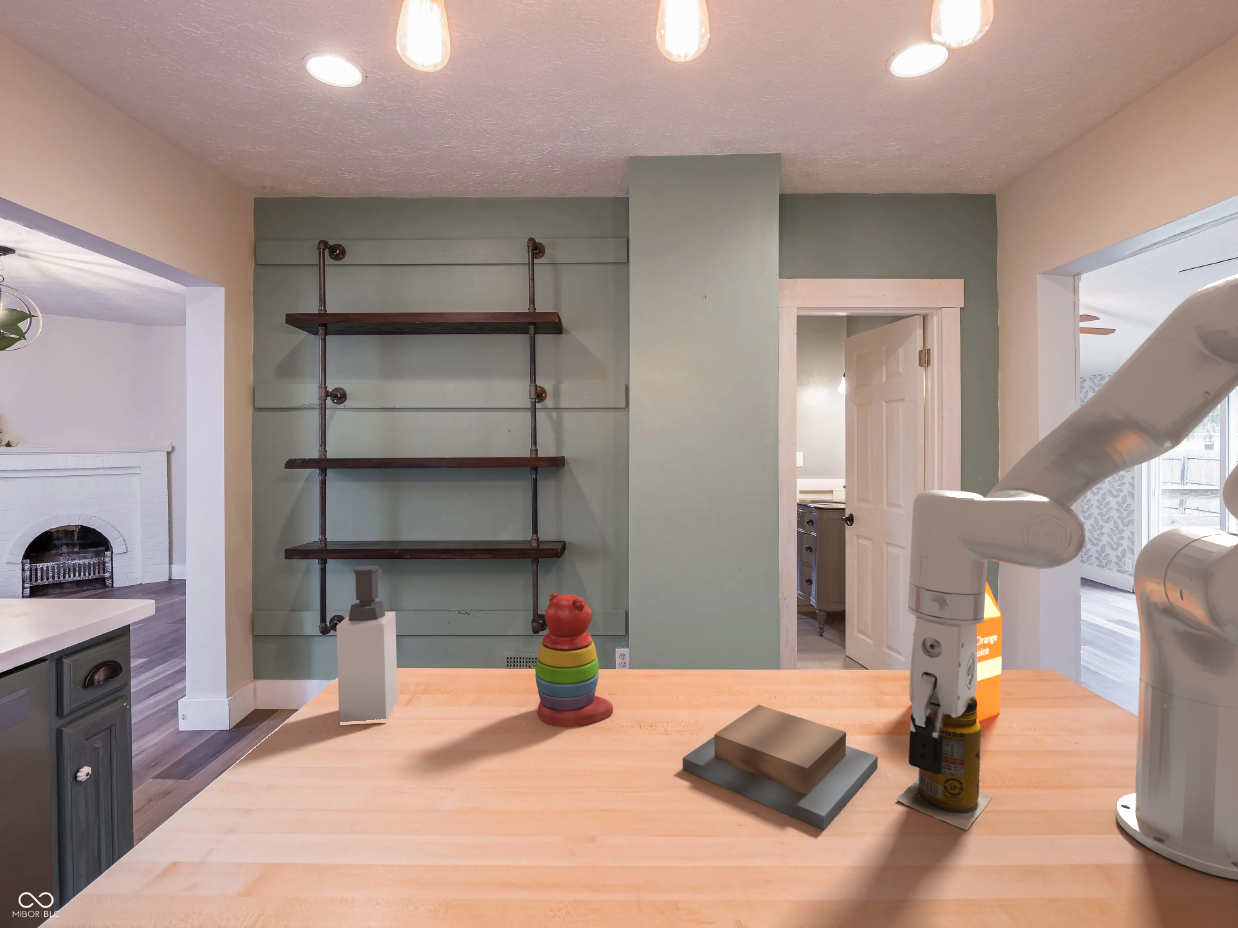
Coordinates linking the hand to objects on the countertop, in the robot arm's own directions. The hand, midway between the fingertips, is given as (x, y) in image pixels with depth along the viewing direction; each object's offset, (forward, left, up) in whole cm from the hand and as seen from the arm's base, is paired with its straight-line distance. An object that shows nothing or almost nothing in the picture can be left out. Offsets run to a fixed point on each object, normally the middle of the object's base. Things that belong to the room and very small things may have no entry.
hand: (937, 751), depth 70 cm
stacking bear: (+47, +12, -6) cm, 49 cm away
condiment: (-1, 0, -6) cm, 6 cm away
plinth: (+16, +6, -5) cm, 18 cm away
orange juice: (+4, -27, -6) cm, 28 cm away
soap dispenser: (+70, +31, -6) cm, 77 cm away
